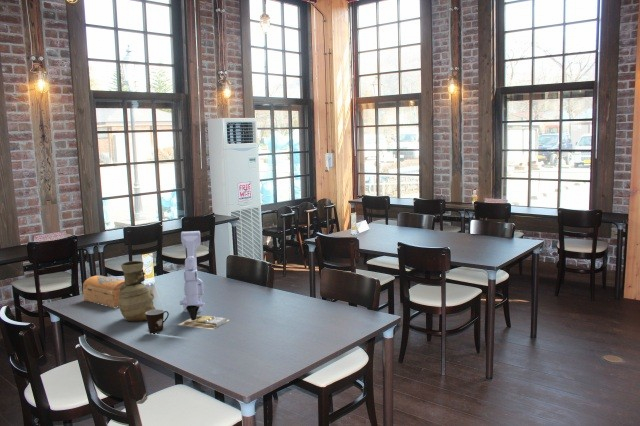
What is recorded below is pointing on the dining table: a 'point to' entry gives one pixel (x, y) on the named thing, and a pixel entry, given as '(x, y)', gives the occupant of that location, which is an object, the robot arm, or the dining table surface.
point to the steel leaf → (215, 321)
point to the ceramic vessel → (135, 293)
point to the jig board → (198, 325)
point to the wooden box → (102, 290)
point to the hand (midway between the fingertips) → (193, 319)
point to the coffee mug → (155, 320)
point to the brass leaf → (204, 319)
